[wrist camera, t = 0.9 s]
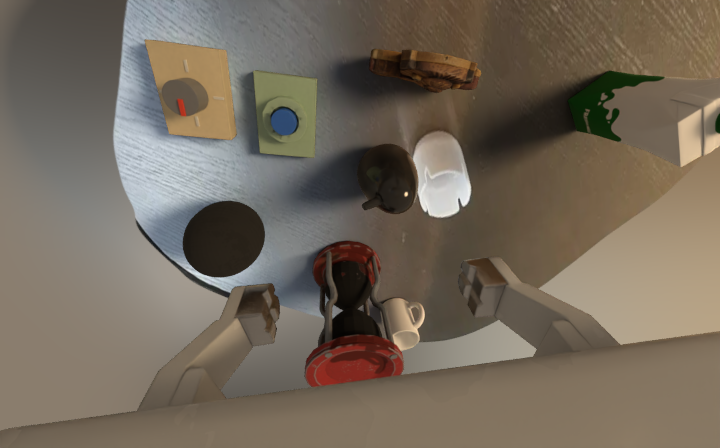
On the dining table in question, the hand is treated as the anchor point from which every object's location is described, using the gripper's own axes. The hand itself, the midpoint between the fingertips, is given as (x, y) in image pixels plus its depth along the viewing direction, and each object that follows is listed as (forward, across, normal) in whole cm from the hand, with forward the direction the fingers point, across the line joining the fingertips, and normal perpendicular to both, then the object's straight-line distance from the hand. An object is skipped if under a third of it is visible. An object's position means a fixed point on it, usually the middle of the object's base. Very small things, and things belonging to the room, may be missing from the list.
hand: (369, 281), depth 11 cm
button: (+35, +9, 0) cm, 36 cm away
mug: (+39, -11, +50) cm, 65 cm away
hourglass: (+39, +2, +35) cm, 52 cm away
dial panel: (+39, +21, -5) cm, 44 cm away
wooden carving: (+39, -13, -5) cm, 41 cm away
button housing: (+39, +8, 0) cm, 40 cm away
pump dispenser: (+39, -7, +10) cm, 41 cm away
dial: (+36, +21, -5) cm, 41 cm away
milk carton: (+39, -45, +2) cm, 59 cm away
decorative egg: (+39, +22, +18) cm, 48 cm away
